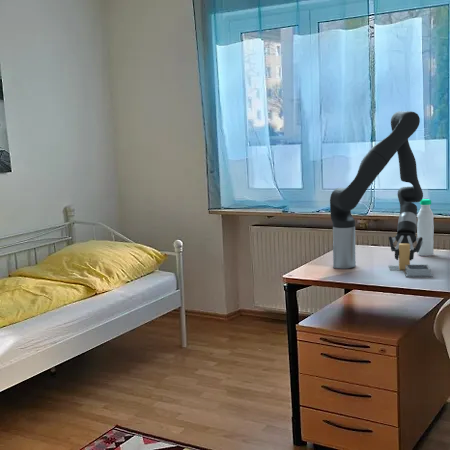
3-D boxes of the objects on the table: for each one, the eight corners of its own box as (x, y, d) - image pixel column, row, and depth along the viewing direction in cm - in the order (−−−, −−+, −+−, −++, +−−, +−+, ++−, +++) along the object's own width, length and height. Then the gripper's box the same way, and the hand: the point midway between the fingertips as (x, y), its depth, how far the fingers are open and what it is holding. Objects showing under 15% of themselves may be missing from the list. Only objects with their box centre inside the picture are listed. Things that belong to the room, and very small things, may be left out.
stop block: (399, 269, 262) (399, 245, 260) (398, 267, 266) (398, 243, 264) (409, 269, 261) (409, 244, 260) (408, 267, 265) (408, 243, 263)
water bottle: (434, 256, 285) (434, 200, 282) (417, 256, 287) (418, 200, 283) (432, 253, 292) (433, 198, 289) (416, 253, 294) (416, 198, 290)
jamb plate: (390, 271, 260) (390, 270, 260) (388, 266, 269) (388, 265, 269) (420, 271, 258) (420, 270, 258) (418, 266, 267) (418, 265, 267)
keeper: (405, 278, 248) (405, 269, 248) (403, 272, 258) (403, 264, 257) (432, 278, 246) (432, 269, 246) (429, 272, 256) (429, 264, 256)
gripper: (388, 219, 270) (384, 253, 261) (424, 220, 265) (421, 254, 256) (390, 230, 276) (386, 263, 266) (425, 230, 270) (422, 265, 261)
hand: (403, 259), depth 261 cm, fingers closed on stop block, 4 cm apart
